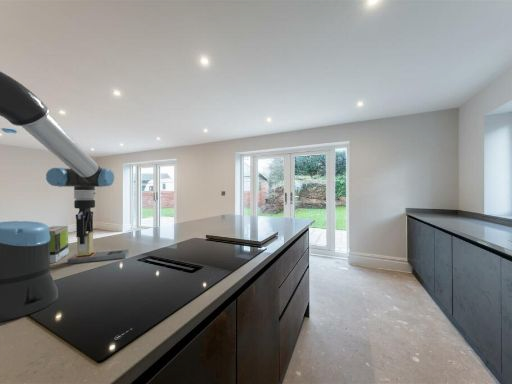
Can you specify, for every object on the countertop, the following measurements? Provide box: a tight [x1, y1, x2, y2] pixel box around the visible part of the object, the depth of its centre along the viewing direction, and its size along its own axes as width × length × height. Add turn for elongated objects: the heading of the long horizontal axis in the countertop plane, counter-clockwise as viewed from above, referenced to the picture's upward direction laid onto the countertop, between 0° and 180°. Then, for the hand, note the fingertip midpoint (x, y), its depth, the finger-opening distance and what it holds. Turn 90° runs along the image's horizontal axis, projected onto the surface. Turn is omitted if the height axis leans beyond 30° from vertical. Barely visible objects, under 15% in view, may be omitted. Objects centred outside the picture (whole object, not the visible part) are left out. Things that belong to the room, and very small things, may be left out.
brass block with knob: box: [76, 231, 94, 256], centre depth 97 cm, size 4×4×10 cm
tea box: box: [48, 225, 70, 264], centre depth 98 cm, size 15×10×15 cm
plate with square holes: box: [67, 249, 130, 265], centre depth 99 cm, size 8×22×2 cm, turn 111°
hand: (85, 249), depth 97 cm, fingers closed on brass block with knob, 4 cm apart
